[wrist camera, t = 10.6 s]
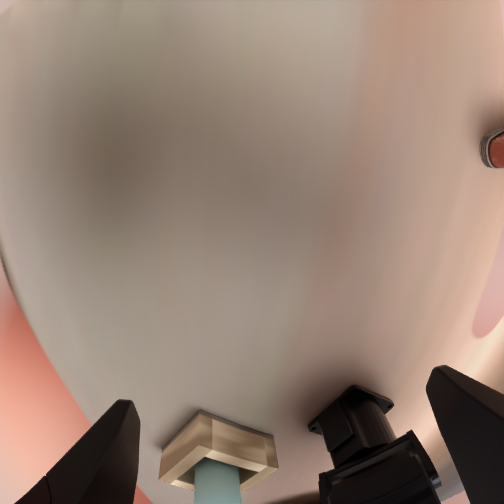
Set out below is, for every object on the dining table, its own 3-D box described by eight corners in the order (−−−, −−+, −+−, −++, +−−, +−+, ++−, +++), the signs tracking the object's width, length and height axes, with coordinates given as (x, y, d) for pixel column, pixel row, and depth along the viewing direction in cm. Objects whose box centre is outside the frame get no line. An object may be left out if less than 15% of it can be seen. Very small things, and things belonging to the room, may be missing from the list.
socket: (273, 436, 28) (278, 468, 24) (228, 470, 29) (230, 500, 26) (200, 409, 25) (198, 445, 22) (162, 448, 27) (158, 479, 24)
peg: (245, 444, 27) (254, 534, 18) (223, 462, 28) (227, 544, 19) (208, 432, 26) (209, 527, 17) (188, 450, 27) (184, 537, 18)
